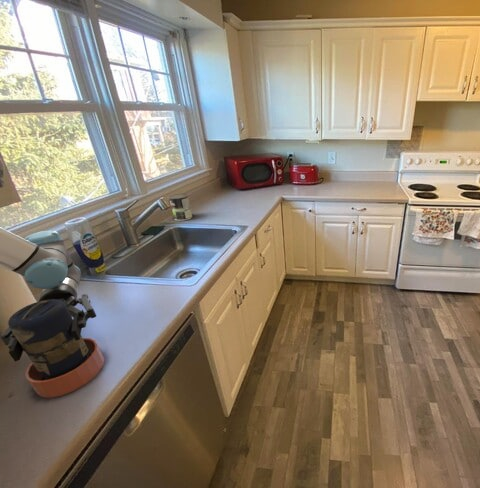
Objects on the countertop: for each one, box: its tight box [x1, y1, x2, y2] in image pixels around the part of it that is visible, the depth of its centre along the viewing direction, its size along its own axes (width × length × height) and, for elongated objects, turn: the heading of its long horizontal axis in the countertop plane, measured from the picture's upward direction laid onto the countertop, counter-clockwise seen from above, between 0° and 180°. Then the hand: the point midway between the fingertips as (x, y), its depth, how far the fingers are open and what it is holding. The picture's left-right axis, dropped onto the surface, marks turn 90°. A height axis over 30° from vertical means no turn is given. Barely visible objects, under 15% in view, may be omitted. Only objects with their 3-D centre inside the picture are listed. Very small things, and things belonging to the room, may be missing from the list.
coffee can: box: [168, 193, 193, 222], centre depth 171 cm, size 10×10×14 cm
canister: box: [7, 299, 90, 378], centre depth 66 cm, size 10×10×18 cm
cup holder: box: [25, 337, 105, 398], centre depth 70 cm, size 13×13×6 cm
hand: (46, 345), depth 62 cm, fingers closed on canister, 9 cm apart
